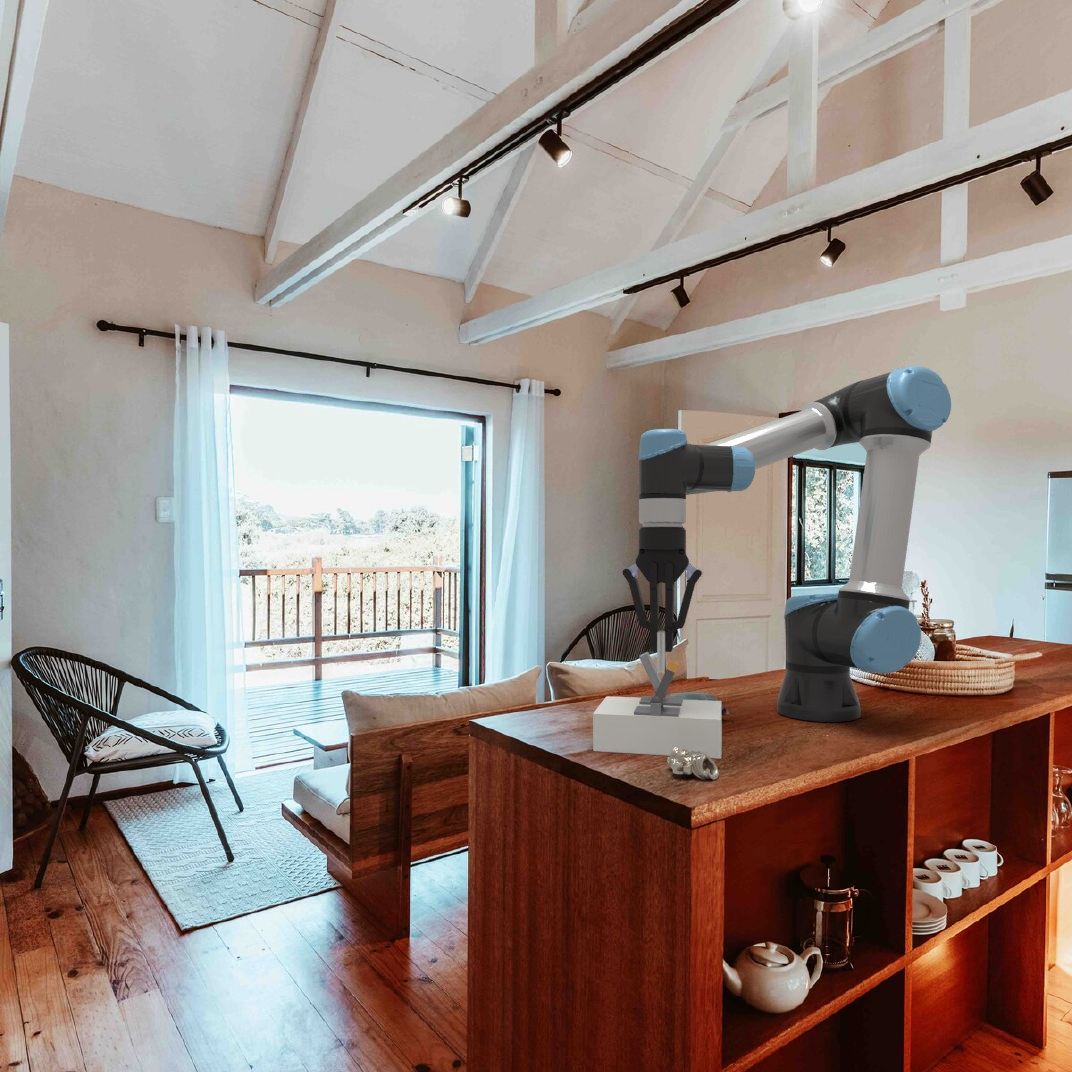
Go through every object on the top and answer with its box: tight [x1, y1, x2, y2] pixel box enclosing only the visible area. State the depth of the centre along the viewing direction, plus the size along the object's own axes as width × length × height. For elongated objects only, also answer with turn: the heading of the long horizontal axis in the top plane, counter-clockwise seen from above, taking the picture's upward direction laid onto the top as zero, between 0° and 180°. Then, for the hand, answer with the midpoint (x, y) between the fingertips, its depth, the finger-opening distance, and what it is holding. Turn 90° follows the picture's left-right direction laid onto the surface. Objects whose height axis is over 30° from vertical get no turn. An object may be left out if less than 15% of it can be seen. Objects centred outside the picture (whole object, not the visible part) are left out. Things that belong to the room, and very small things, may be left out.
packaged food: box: [667, 691, 730, 716], centre depth 142 cm, size 9×12×5 cm
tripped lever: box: [650, 658, 680, 707], centre depth 120 cm, size 2×3×8 cm
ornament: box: [667, 747, 720, 780], centre depth 107 cm, size 8×7×4 cm
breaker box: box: [592, 651, 723, 760], centre depth 124 cm, size 20×14×14 cm
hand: (661, 671), depth 120 cm, fingers closed
